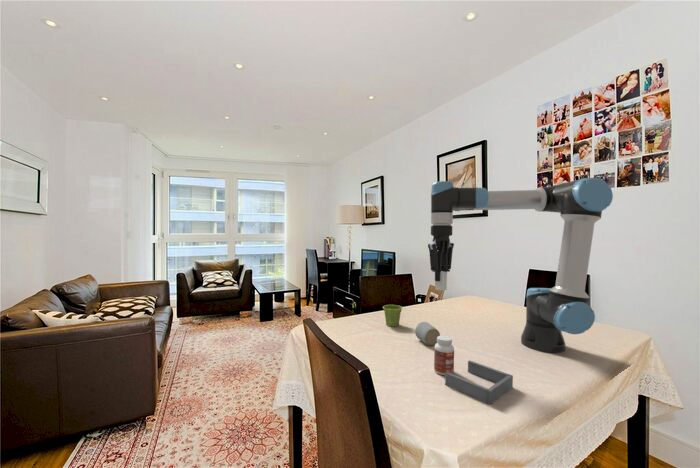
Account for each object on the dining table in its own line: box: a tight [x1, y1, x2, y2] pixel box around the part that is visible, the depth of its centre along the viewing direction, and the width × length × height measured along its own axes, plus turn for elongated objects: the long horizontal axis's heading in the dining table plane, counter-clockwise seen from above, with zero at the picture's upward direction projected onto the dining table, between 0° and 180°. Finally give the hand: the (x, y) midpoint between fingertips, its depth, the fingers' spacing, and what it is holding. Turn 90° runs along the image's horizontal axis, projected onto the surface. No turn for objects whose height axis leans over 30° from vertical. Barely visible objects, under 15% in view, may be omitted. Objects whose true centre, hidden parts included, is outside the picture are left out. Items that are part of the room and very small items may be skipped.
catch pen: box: [444, 360, 514, 405], centre depth 91 cm, size 14×14×4 cm
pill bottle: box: [433, 335, 455, 376], centre depth 100 cm, size 6×6×11 cm
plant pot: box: [382, 304, 403, 327], centre depth 149 cm, size 9×9×9 cm
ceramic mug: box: [414, 321, 441, 347], centre depth 126 cm, size 11×8×8 cm
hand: (440, 289), depth 112 cm, fingers open, 2 cm apart
